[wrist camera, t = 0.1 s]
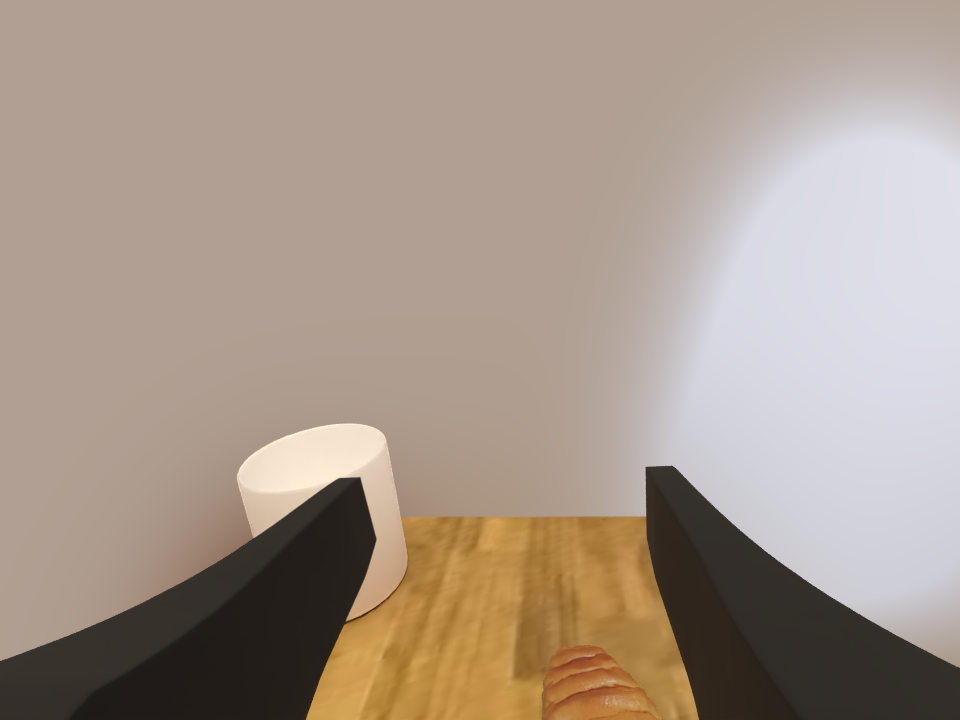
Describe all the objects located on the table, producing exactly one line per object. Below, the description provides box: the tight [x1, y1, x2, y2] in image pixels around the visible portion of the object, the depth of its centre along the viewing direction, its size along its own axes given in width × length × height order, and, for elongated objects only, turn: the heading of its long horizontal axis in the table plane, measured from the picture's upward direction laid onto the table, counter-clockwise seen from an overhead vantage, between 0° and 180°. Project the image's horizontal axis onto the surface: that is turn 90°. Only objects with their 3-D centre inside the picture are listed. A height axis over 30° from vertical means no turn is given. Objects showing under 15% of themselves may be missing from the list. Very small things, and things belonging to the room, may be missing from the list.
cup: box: [237, 424, 408, 622], centre depth 41 cm, size 12×12×12 cm
